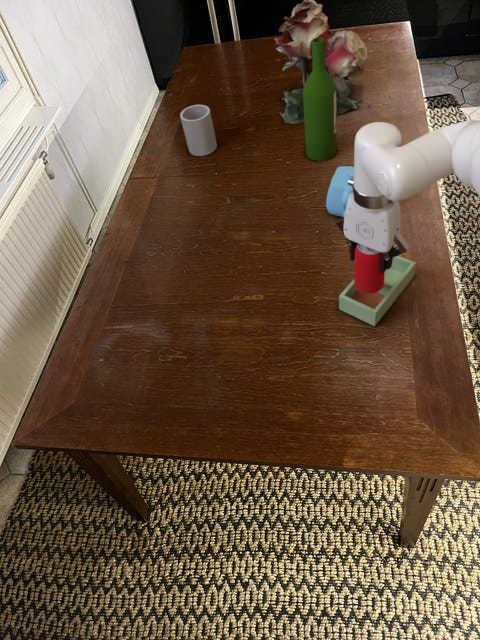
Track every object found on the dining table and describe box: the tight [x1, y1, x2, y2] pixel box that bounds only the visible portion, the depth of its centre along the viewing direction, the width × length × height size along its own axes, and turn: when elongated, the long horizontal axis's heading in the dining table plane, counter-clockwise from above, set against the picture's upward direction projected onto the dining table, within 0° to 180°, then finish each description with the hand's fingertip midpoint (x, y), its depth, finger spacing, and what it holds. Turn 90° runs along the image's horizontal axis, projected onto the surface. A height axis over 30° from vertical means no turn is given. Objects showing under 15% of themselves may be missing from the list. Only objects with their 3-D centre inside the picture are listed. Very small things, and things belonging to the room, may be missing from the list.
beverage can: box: [353, 243, 385, 294], centre depth 109 cm, size 6×6×12 cm
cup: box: [179, 104, 218, 157], centre depth 164 cm, size 9×9×12 cm
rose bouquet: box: [274, 0, 368, 125], centre depth 165 cm, size 26×29×30 cm
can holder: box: [338, 255, 417, 327], centre depth 119 cm, size 9×17×5 cm, turn 141°
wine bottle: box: [303, 38, 337, 162], centre depth 145 cm, size 9×9×32 cm
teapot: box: [325, 165, 354, 218], centre depth 136 cm, size 12×18×12 cm
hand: (370, 262), depth 109 cm, fingers closed on beverage can, 6 cm apart
